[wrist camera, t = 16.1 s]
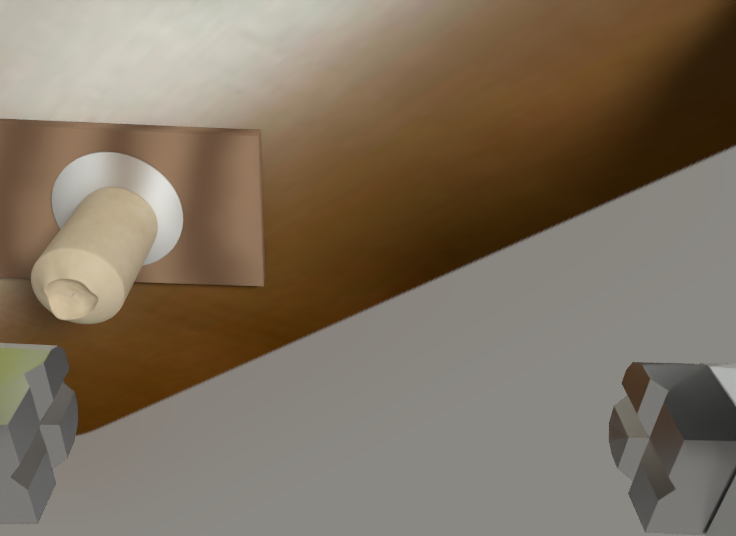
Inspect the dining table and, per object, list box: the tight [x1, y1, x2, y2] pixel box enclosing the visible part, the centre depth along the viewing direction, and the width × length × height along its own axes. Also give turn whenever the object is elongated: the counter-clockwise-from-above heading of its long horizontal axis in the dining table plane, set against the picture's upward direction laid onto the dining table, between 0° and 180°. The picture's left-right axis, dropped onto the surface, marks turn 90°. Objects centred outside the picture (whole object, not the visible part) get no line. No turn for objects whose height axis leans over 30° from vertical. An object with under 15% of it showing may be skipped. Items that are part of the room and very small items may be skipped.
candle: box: [31, 187, 158, 324], centre depth 44 cm, size 6×6×10 cm
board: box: [0, 119, 265, 286], centre depth 49 cm, size 20×12×2 cm, turn 87°
